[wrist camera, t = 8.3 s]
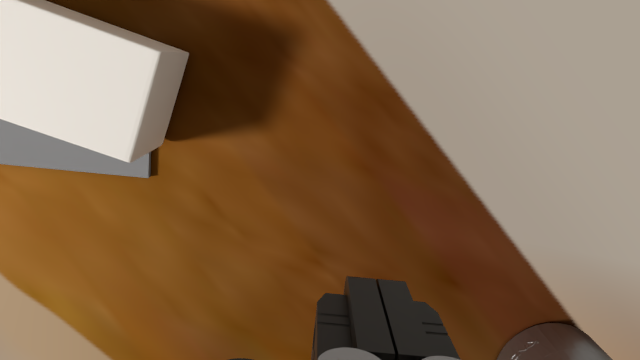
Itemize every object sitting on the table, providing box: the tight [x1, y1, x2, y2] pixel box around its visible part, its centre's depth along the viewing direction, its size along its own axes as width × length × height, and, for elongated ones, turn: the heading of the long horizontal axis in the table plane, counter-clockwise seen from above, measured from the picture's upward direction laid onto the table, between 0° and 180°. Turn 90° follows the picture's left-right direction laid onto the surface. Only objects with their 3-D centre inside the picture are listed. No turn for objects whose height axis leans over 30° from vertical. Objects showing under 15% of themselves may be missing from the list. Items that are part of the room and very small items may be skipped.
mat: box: [0, 119, 151, 178], centre depth 37 cm, size 16×10×1 cm, turn 84°
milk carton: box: [0, 0, 189, 163], centre depth 33 cm, size 7×7×19 cm
